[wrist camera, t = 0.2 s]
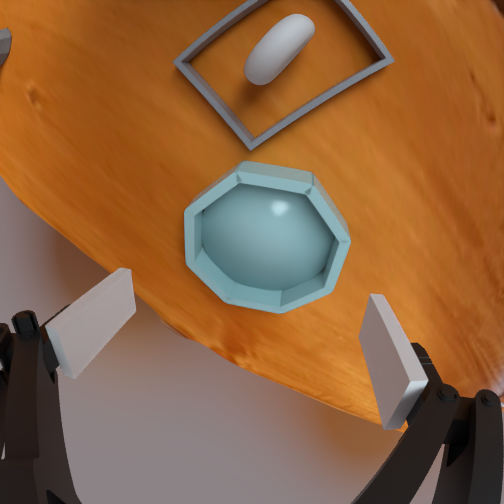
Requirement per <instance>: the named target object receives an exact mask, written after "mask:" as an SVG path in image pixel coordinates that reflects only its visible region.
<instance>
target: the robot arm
mask: <svg viewBox="0 0 504 504" xmlns="http://www.w3.org/2000/svg"><path fill="white" fill-rule="evenodd" d="M135 312H136V307H135V300H134V292H133V284H132V276H131V269H125V268H119V269H118V270H116V271H115V272H113V273H112V274H111V275H109V276H108V277H107V278H105V279H104V280H103V281H101V282H100V283H99V284H97V285H96V286H95V287H93V288H92V289H91V290H89V291H88V292H87V293H85V294H84V295H83V296H81V297H80V298H79V299H78V300H76V301H75V302H74V303H71V304H69V305H67V306H65V307H64V308H63V309H62V310H60V312H58V313H56V314H55V316H53V317H51V318H50V319H49V320H48V321H47V322H45V323H44V324H43V325H42V326H40V327H39V324H38V321H37V318H36V315H35V313H34V312H33V311H30V310H26V311H21V312H19V313H17V314H16V315H14V316H13V317H12V319H11V320H12V323H13V326H14V329H15V331H16V333H11V332H10V330H9V327H8V325H7V324H5V323H0V363H1V364H2V367H3V368H2V370H0V504H82V503H81V502H80V500H79V499H78V497H77V495H76V492H75V489H74V485H73V481H72V477H71V473H70V469H69V464H68V459H67V454H66V448H65V443H64V436H63V429H62V422H61V413H60V403H59V391H58V375H57V371H56V368H57V367H58V366H59V365H60V367H61V370H62V372H63V374H64V375H66V376H68V377H70V378H73V379H76V378H77V377H78V375H79V374H80V373H81V372H82V371H83V370H84V369H85V367H86V366H87V365H88V364H89V363H90V362H91V361H92V359H93V358H94V357H95V356H96V355H97V353H99V351H100V350H101V349H102V348H103V347H104V346H105V345H106V344H107V342H108V341H109V340H110V339H111V338H112V337H113V336H114V335H115V334H116V333H117V331H118V330H119V329H120V328H121V327H122V326H123V325H124V324H125V323H126V322H127V320H128V319H129V318H130V317H131V316H132V315H133V314H134V313H135ZM359 340H360V343H361V347H362V350H363V353H364V357H365V360H366V364H367V367H368V371H369V374H370V378H371V382H372V385H373V389H374V393H375V397H376V401H377V405H378V409H379V413H380V417H381V421H382V425H383V429H384V430H389V429H399V428H401V427H402V425H403V424H404V422H405V420H407V423H408V426H409V427H408V428H407V430H406V431H405V433H404V434H403V436H402V437H401V439H400V440H399V442H398V444H397V445H396V447H395V448H394V449H393V451H392V452H391V454H390V455H389V457H388V458H387V459H386V461H385V462H384V463H383V465H382V466H381V468H380V469H379V470H378V472H377V473H376V474H375V475H374V477H373V478H372V479H371V480H370V482H369V483H368V484H367V485H366V487H365V488H364V489H363V490H362V491H361V492H360V494H359V495H358V496H357V497H356V498H355V499H354V501H353V502H352V503H351V504H409V503H410V502H411V500H412V499H413V497H414V495H415V494H416V492H417V490H418V489H419V487H420V485H421V484H422V482H423V480H424V479H425V477H426V475H427V473H428V471H429V469H430V468H431V465H432V464H433V462H434V460H435V458H436V456H437V454H438V452H439V450H440V448H441V446H442V444H445V447H444V453H443V458H442V464H441V469H440V473H439V478H438V482H437V486H436V490H435V494H434V498H433V501H432V504H500V501H501V492H502V480H503V457H504V456H503V455H504V454H503V453H504V452H503V451H504V449H503V448H504V445H503V422H502V410H501V402H500V399H499V397H498V396H497V394H495V393H494V392H493V391H490V390H487V389H483V390H480V391H479V392H478V393H477V394H476V395H475V397H474V398H467V397H460V395H459V393H458V391H457V390H456V389H455V388H454V387H452V386H450V385H448V384H443V382H442V380H441V378H440V376H439V374H438V372H437V370H436V369H435V367H434V365H433V364H432V361H431V359H430V358H429V356H428V354H427V352H426V350H425V349H424V348H423V347H422V346H421V345H420V344H418V343H410V342H409V340H408V338H407V336H406V335H405V333H404V331H403V329H402V327H401V325H400V323H399V322H398V320H397V318H396V316H395V314H394V313H393V311H392V309H391V307H390V306H389V304H388V302H387V300H386V299H385V297H384V295H382V294H370V296H369V300H368V304H367V308H366V312H365V316H364V319H363V323H362V327H361V331H360V334H359ZM4 443H5V458H4V459H1V457H2V452H3V448H4Z"/></svg>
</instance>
